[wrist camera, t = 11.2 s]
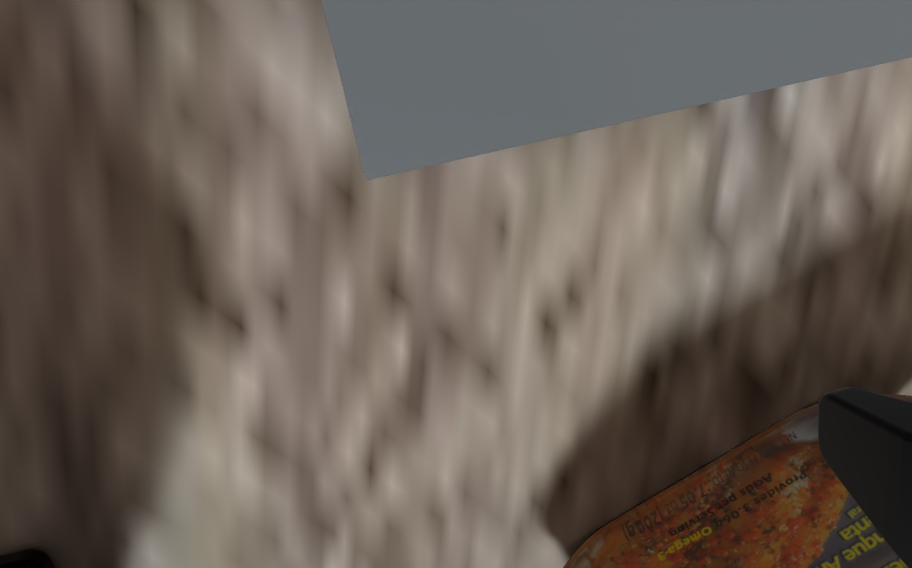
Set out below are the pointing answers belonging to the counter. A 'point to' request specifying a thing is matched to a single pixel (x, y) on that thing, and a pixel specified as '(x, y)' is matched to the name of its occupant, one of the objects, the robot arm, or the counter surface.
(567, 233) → the counter surface
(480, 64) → the hole plate
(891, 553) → the tin
